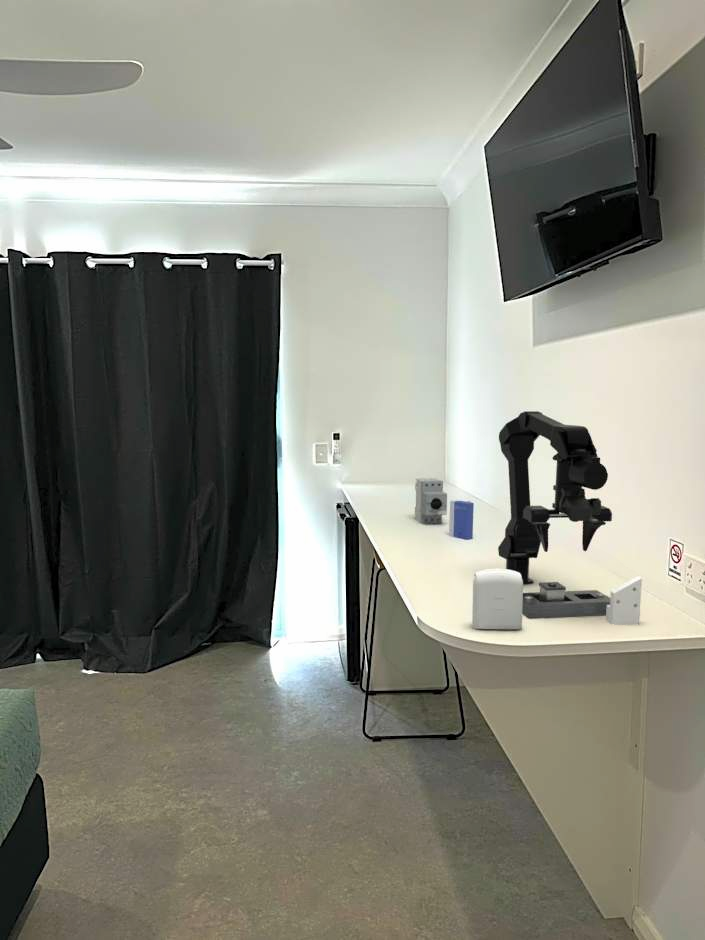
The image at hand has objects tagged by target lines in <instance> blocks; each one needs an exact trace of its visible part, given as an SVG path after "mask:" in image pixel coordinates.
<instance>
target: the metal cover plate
mask: <svg viewBox="0 0 705 940" xmlns="http://www.w3.org/2000/svg"><path fill="white" fill-rule="evenodd" d="M539 595H540V591H539V592H538V591H537V592H523V606H522V615H524V616H525V617H526V618H527V619H531V620H532V619H549V618H550V619H551V618H552V619H553V618H555V619H556V618H570V617H571V618H574V617H575V618H576V617H577V618H578V617H594V616H595V617H597V616H598V617H599V616H606V609H607V605H610V597H609V596H607V595H606V594H604V593H603V592H601V591H599V590H597V589H589V590H564V602H540V601H539Z"/></svg>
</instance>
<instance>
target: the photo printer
mask: <svg viewBox="0 0 705 940" xmlns="http://www.w3.org/2000/svg"><path fill="white" fill-rule="evenodd" d="M523 591H524V583H523V580H522V576H521V574H520V573H519V572H516V571H513V570H508V569H506V568H488V569H483V570H479V571H477V572H475V573H474V577H473V581H472V612H471V614H472V616H471V617H472V618H471V619H472V622H471V623H472V624H471V627H473V629H476V630H521V629H522V628H523V613H522V606H523V593H524V592H523Z"/></svg>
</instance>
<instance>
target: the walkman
mask: <svg viewBox="0 0 705 940" xmlns="http://www.w3.org/2000/svg"><path fill="white" fill-rule="evenodd" d="M448 522H449V525H448V527H449V529H448V530H449V531H448V536H449V537H454V538H457V539H462V540H465V541H466V540H473V539H474V538H473V536H474V535H473V534H474V502H471V501H469V500H467V501H464V500H458V499H451V500H449V521H448Z"/></svg>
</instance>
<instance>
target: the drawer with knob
mask: <svg viewBox="0 0 705 940" xmlns="http://www.w3.org/2000/svg"><path fill="white" fill-rule="evenodd" d="M538 586H539V592H540V595H539V601H540V602H564V591H567V587H566V586H565V585H563V584H562V583H560V582H558V581H551V582H550V581H549V582H546V581H545V582H543V581H541V582H538Z"/></svg>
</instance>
